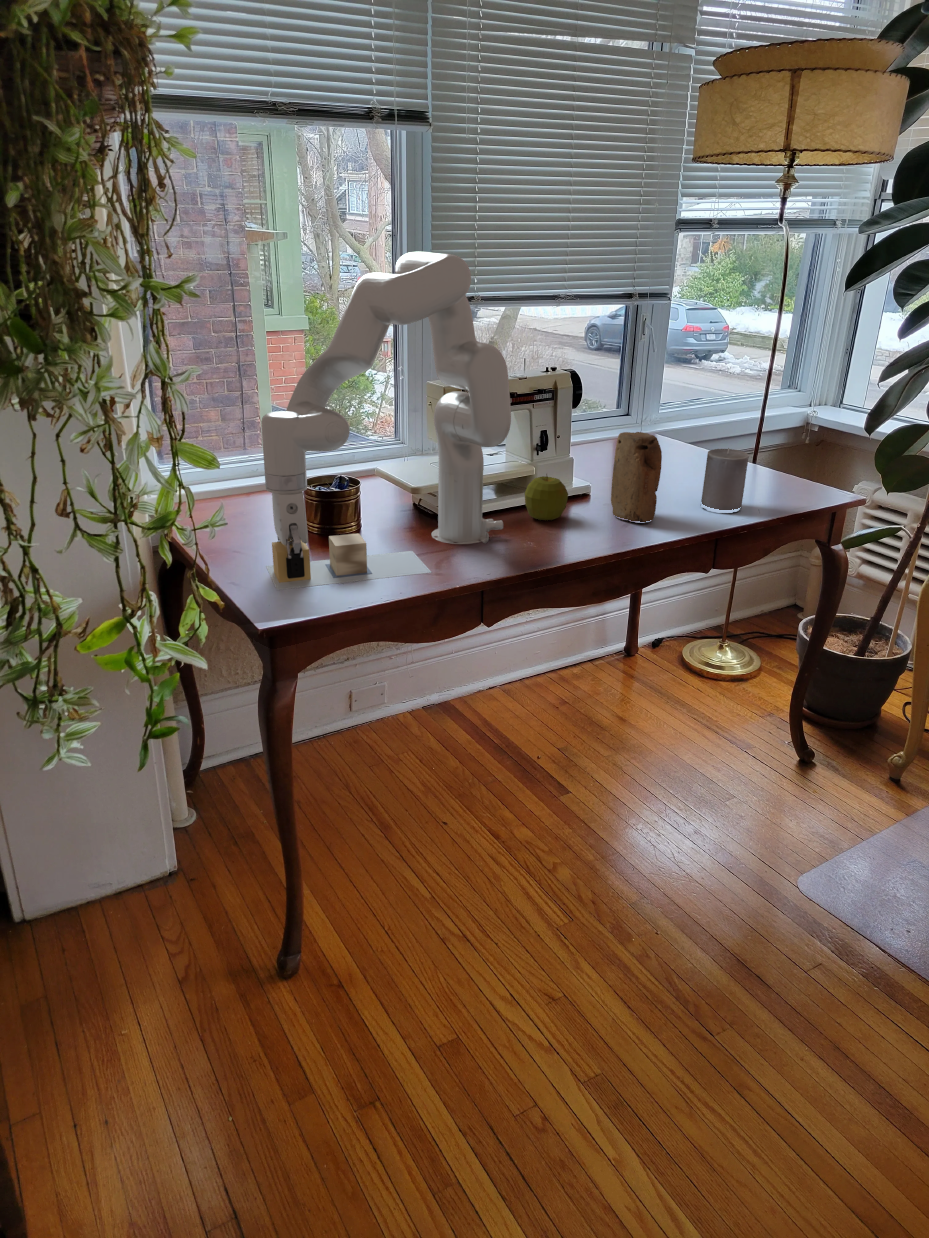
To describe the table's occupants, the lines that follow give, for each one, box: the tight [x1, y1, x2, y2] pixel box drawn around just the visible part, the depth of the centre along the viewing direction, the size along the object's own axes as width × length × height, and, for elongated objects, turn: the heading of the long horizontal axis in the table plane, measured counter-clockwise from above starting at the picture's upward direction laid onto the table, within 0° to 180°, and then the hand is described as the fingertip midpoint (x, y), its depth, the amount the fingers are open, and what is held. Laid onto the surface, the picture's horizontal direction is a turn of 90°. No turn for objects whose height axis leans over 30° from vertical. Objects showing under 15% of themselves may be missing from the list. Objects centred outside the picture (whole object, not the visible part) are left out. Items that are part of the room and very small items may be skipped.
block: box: [610, 431, 663, 522], centre depth 213 cm, size 11×8×20 cm
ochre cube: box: [271, 540, 311, 583], centre depth 176 cm, size 6×6×6 cm
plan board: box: [265, 550, 433, 591], centre depth 180 cm, size 30×13×1 cm, turn 110°
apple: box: [524, 473, 569, 522], centre depth 214 cm, size 10×10×11 cm
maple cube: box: [328, 533, 368, 576], centre depth 179 cm, size 6×6×6 cm
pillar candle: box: [700, 447, 750, 510], centre depth 223 cm, size 10×10×15 cm
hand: (291, 568), depth 176 cm, fingers open, 9 cm apart
